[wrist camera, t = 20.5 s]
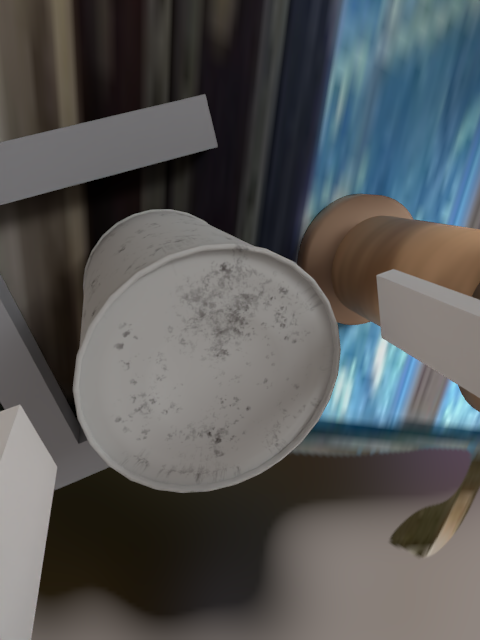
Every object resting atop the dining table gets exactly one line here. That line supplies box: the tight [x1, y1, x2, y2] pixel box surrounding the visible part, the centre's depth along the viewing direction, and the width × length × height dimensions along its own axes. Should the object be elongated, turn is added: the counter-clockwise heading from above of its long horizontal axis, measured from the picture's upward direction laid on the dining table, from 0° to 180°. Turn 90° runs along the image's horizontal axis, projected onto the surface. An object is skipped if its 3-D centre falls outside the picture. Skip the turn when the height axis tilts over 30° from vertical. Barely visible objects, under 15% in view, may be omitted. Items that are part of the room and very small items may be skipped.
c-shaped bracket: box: [0, 94, 218, 490], centre depth 23 cm, size 19×16×2 cm
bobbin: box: [297, 194, 480, 412], centre depth 22 cm, size 9×9×15 cm
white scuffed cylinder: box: [73, 209, 341, 493], centre depth 19 cm, size 10×10×12 cm
